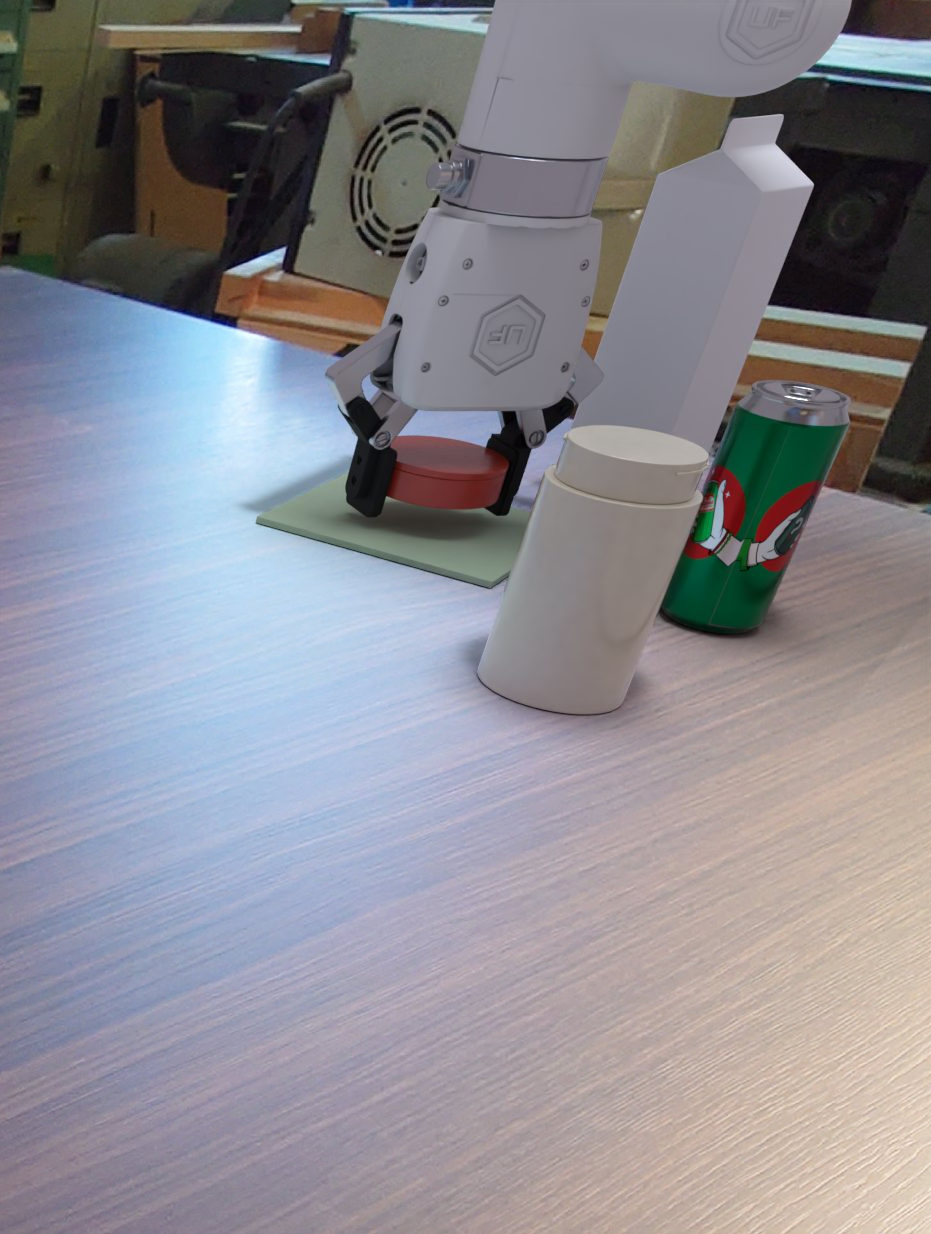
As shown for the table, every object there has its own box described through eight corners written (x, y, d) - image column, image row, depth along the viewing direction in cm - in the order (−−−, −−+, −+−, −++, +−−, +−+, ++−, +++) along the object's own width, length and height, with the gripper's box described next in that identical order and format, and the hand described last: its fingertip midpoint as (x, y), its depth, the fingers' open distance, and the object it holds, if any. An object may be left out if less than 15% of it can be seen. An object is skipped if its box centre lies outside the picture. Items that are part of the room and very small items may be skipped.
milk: (545, 499, 106) (674, 112, 94) (597, 484, 109) (729, 106, 97) (638, 528, 102) (786, 126, 90) (690, 511, 105) (840, 120, 93)
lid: (393, 508, 97) (404, 472, 95) (345, 468, 103) (354, 433, 101) (520, 511, 97) (532, 475, 96) (465, 470, 103) (475, 436, 102)
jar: (626, 676, 83) (720, 438, 77) (619, 726, 79) (719, 477, 72) (484, 647, 86) (563, 414, 79) (469, 694, 81) (552, 449, 74)
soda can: (761, 614, 91) (859, 389, 84) (758, 645, 87) (861, 412, 81) (658, 594, 93) (745, 371, 86) (651, 623, 89) (742, 394, 83)
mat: (577, 530, 101) (580, 524, 101) (490, 588, 93) (492, 581, 93) (354, 473, 109) (356, 467, 109) (255, 522, 101) (256, 516, 100)
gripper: (402, 198, 86) (315, 533, 96) (714, 202, 88) (597, 529, 98) (336, 173, 93) (260, 490, 103) (628, 177, 95) (527, 487, 104)
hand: (426, 507), depth 100 cm, fingers closed on lid, 7 cm apart
